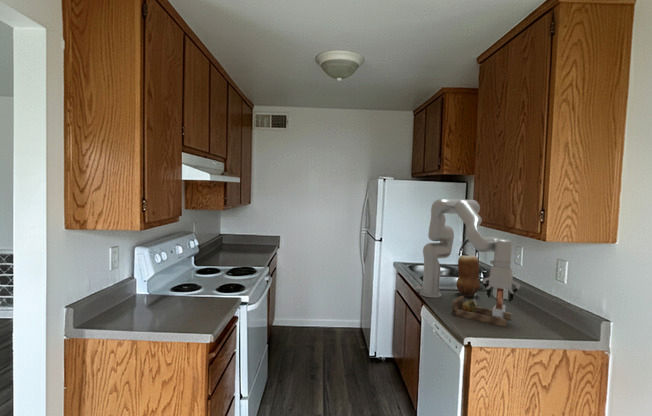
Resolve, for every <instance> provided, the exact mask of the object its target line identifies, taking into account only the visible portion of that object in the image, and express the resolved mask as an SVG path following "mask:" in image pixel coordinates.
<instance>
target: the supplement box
mask: <svg viewBox="0 0 652 416" xmlns="http://www.w3.org/2000/svg"><path fill="white" fill-rule="evenodd" d="M492 296H493V298H494V299H496V296H497V288H496V287H492ZM508 297H509V289H504V293H503V300H509V298H508Z"/></svg>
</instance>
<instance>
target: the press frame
mask: <svg viewBox="0 0 652 416" xmlns="http://www.w3.org/2000/svg"><path fill="white" fill-rule="evenodd" d="M463 302H465V296H464V295H460V296H458V297H456V298H455V299H454V300H452V306H451V307H452V311H451V315H452V316H455V317H460V318H463V319H464V318H465V319H468V318H469V319H468V320H472V321H478V322H481V323H488V324H490V325H491V324H492V325H494V326H495V325H496V326H500V327H505V328H506V327H507V321H508V320H509V321H512V313H511V312H507V311H505V317H504V319H501V318H496V317H492V310H493V308H486V307H481V306H475V307H477V311H476V313H473V312H468V311H463V310H462V307H461V306H462V304H463Z"/></svg>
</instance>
